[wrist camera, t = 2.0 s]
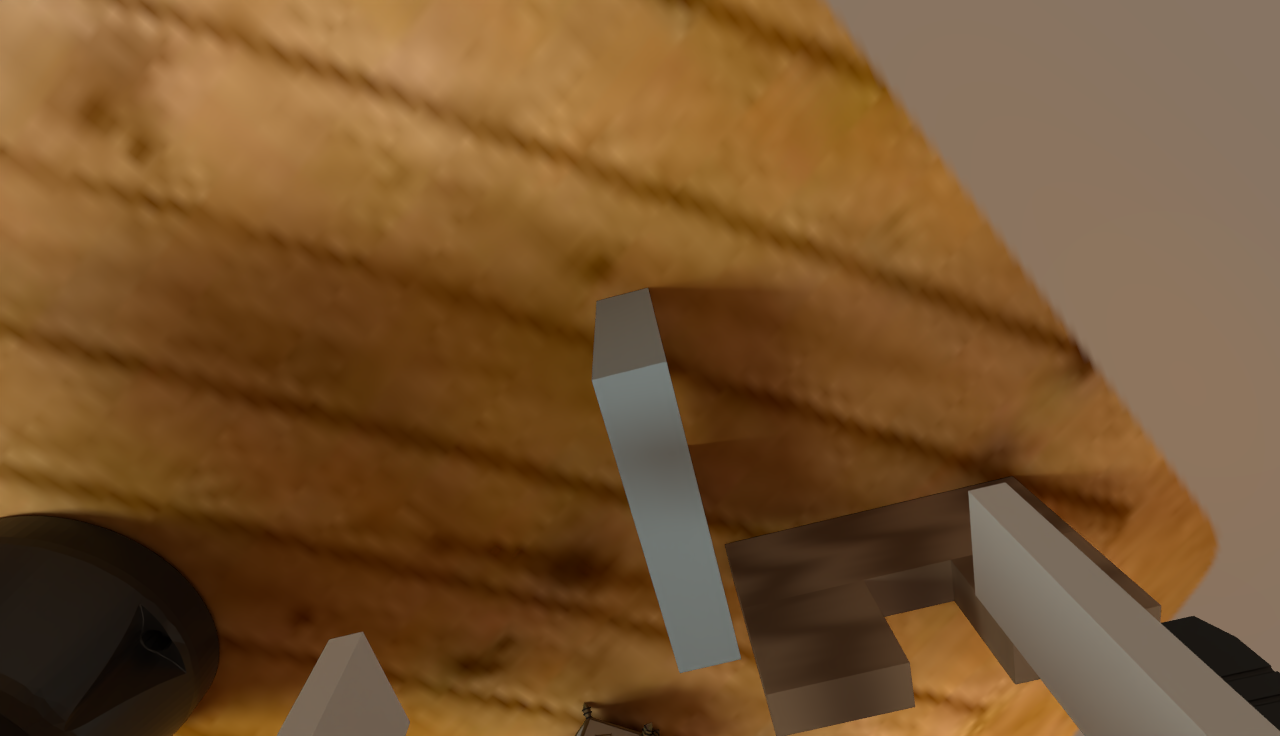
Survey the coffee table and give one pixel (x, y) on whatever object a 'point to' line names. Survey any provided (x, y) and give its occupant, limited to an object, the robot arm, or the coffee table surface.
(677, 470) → the cross plank
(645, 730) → the game die
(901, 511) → the base plank
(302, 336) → the coffee table surface
